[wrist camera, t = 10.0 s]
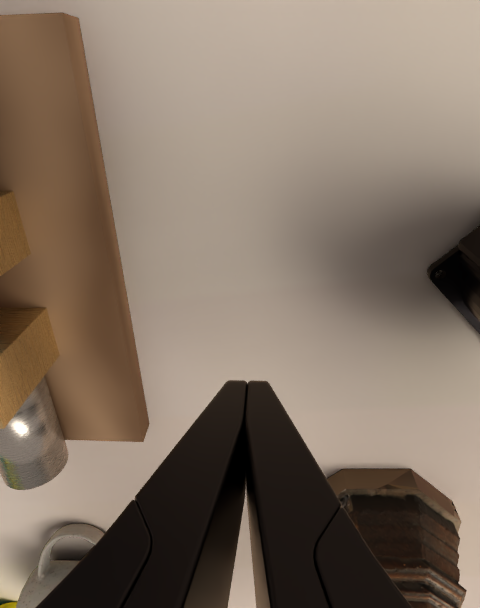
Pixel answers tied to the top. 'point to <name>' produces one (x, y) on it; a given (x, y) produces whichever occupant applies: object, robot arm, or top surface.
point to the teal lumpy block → (9, 605)
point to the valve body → (25, 375)
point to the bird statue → (406, 531)
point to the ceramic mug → (54, 565)
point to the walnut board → (67, 228)
